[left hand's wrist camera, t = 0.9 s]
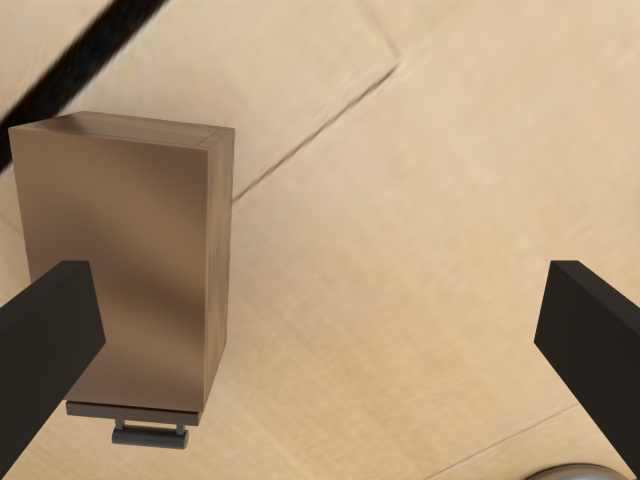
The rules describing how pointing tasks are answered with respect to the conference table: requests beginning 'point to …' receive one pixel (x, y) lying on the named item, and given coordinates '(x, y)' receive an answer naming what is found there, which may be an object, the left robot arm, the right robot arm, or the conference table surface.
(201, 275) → the cabinet
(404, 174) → the conference table surface
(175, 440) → the drawer
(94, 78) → the conference table surface
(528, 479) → the right robot arm
